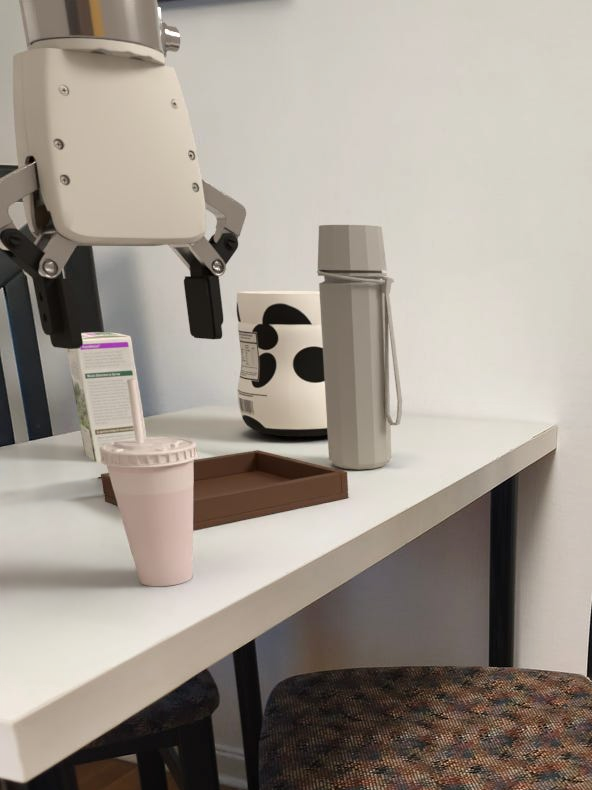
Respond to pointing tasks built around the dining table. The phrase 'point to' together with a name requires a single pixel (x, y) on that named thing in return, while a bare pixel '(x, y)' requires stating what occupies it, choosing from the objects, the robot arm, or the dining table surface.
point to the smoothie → (154, 499)
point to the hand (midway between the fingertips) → (140, 342)
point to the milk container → (281, 363)
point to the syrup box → (103, 389)
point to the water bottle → (356, 345)
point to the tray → (254, 486)
